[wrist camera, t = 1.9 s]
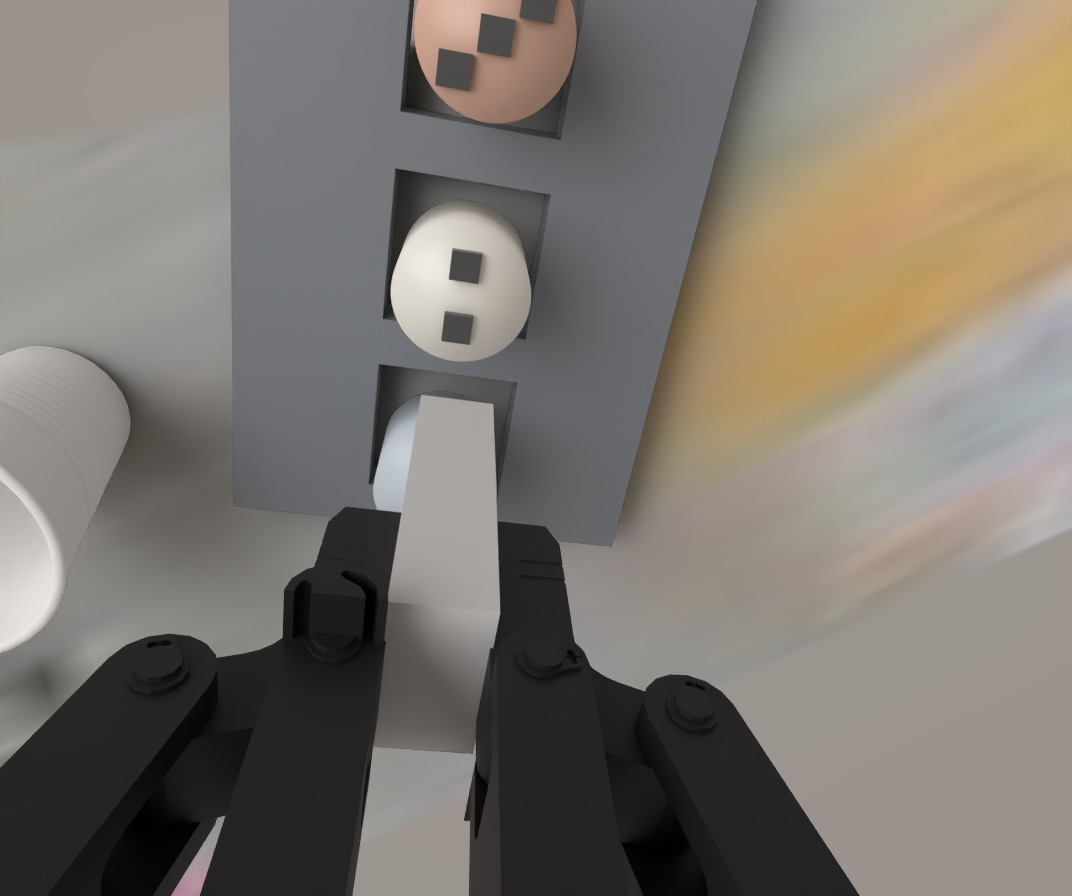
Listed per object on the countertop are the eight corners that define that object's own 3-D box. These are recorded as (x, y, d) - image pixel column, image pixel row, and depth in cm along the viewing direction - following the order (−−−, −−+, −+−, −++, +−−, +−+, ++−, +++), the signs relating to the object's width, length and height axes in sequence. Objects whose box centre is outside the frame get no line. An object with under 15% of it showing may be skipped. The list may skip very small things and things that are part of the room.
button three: (416, 98, 27) (405, 109, 23) (431, -61, 25) (421, -80, 21) (549, 122, 28) (561, 137, 24) (574, -31, 26) (592, -43, 22)
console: (245, 483, 37) (233, 506, 35) (244, -187, 25) (226, -204, 24) (606, 524, 40) (611, 546, 38) (759, -71, 28) (778, -78, 26)
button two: (396, 312, 31) (384, 354, 27) (408, 190, 29) (396, 216, 25) (514, 329, 32) (519, 373, 28) (534, 210, 29) (542, 239, 25)
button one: (381, 481, 35) (367, 541, 31) (390, 384, 32) (376, 435, 28) (486, 493, 35) (487, 554, 31) (502, 399, 33) (505, 451, 29)
